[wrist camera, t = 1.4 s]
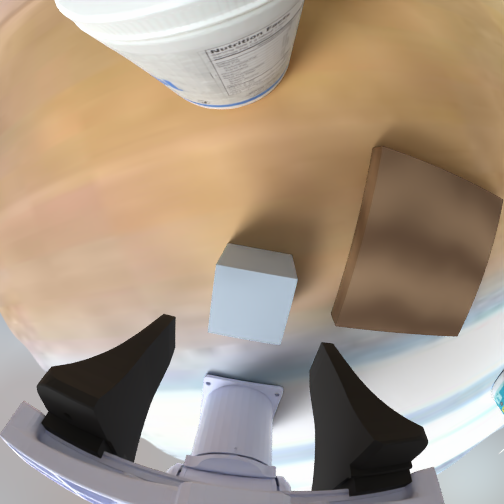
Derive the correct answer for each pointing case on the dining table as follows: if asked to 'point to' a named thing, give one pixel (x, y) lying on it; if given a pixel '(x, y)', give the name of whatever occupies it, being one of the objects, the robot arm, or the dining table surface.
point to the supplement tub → (198, 43)
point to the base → (416, 249)
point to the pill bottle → (499, 392)
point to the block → (252, 294)
